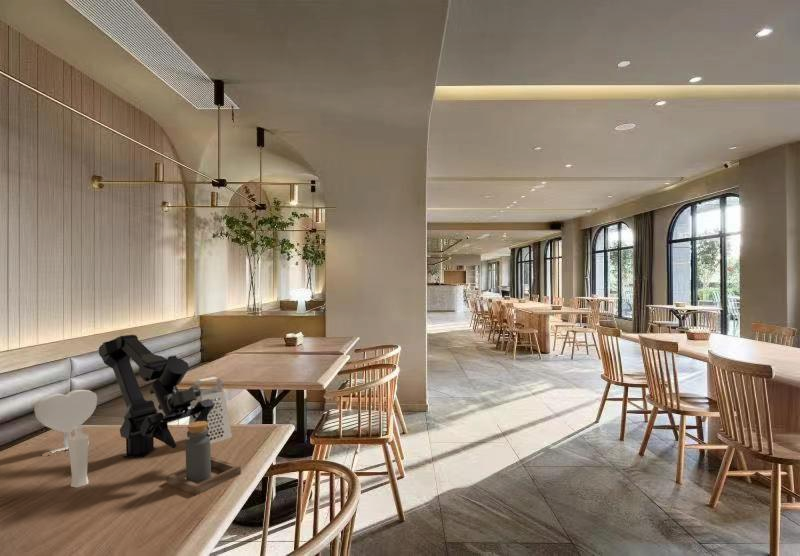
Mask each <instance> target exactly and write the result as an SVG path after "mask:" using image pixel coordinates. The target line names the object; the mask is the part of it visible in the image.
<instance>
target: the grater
mask: <svg viewBox="0 0 800 556" xmlns="http://www.w3.org/2000/svg"><path fill="white" fill-rule="evenodd" d="M210 380H216V387H211V388H207V389H200V387H201V386H200V385H201V384H202V382H205V381H210ZM196 385H197V386H198V387H199V389H200V391H201V395H200V396H198V397H196V398H197V399H196V400H193V401H191V403H192V404H191V406H190V409H191V408H194V407H195V406H196V404H197V403H198V402H200V401H203V400H207V399H210V400H212V401H213V403H214V407H213V408H212V410H211V411H210V413H209V414H208V417H207V423H208V430H209V432H208V436H207V437H209V438H210V445H212V444H215V443H218V442H221V441H224V439H225V440H227V439H231V438H232V437H233V434H232V430H231V429H232V428H231V424H230V418H229V411H228V406H227V400H226V394H225V390H223V387H222V386H223V385H222V379H220V377H217V376H210V377H205V378H199V379H197V380H196V381H195V382H194V386H196ZM195 420H196V419H194V418H193V416H189V418H188V425H189V424H190V423H193V422H194V421H195ZM188 431H189V429H188V428H187V432H188ZM210 432H211V433H210ZM219 432H220V433H219ZM222 432H223V433H222ZM212 434H213V435H212ZM221 435H222V436H221ZM218 436H219V437H218ZM214 437H215V438H214ZM189 439H190V437H187V436H186V441H188V440H189Z"/></svg>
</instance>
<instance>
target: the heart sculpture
mask: <svg viewBox="0 0 800 556" xmlns="http://www.w3.org/2000/svg"><path fill="white" fill-rule="evenodd" d="M97 403H98V396H97V393H96V392H94V391H92V390H88V389H75V390H74V389H72V390H71V391H70V392H68V393H66V394H63V393H59V392H57V393H54V394H49V395H47V396H44V397H42V398H39V399H38V401H36V402H35V404H34V408H33V409H34V415H35V418H36V419H37V420H38V422H39V423H41V425H43V426H45V427H47V428H48V429H52V430H54V431H59V432H62V433H63V446H60V447H57V448H55V449H50V450H51V452H52V453H54V452H56V451H61V450H65V449H68V448H69V446H68V439H69V438H71V437H72V436H73V435H72V434H73V433H72V432H73V431H75V429H74V427H77V426H82V425H83V423H85V422H86V421H87V420H88V419H89V418H90V417H91V416H92V415H93V413H94V411H95V410H96V408H97Z"/></svg>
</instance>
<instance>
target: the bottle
mask: <svg viewBox="0 0 800 556" xmlns="http://www.w3.org/2000/svg"><path fill="white" fill-rule="evenodd" d="M188 429H189V431H188ZM208 432H209V430H208V428H207V422H206V421H197V422H193V423H190V424H189V423H188V425H187V432H186V438H187V437H190V439H189V440H186V441H185V442H186V443H185V468H186V477H185V479H186V480H189V481H191V482H194V483H196V484H198V483H200V482H203V481H205V480H207V479H209V478H211V477H212V467H211V457H212V456H211V444H210V440H211V438H209V437H210V436H208V437H207V436H206V434H208Z"/></svg>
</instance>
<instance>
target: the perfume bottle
mask: <svg viewBox="0 0 800 556" xmlns="http://www.w3.org/2000/svg"><path fill="white" fill-rule="evenodd" d="M84 427H85V425H83V424H82V425H80V426H77V427H74V435H72V437H71V438H69V439H68V446H69V451H68V453H69V455H68V456H69V463H70V472H71V483H70V487H71V488H72V487H73V488H75V489H77V488H81V487H83V486H86V485H88V484H89V478H88V462H89V458H88V457H89V446H90V445H89V441H90V434H89V433H85V432H84Z"/></svg>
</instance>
